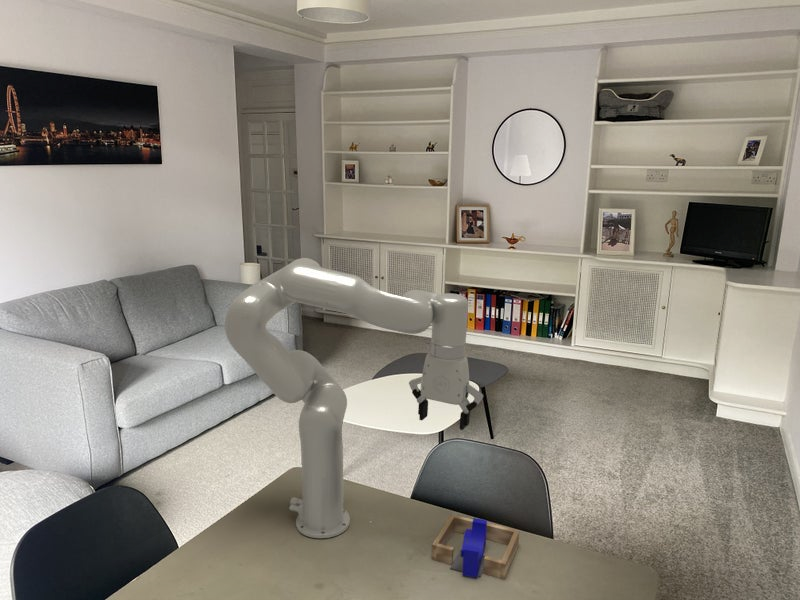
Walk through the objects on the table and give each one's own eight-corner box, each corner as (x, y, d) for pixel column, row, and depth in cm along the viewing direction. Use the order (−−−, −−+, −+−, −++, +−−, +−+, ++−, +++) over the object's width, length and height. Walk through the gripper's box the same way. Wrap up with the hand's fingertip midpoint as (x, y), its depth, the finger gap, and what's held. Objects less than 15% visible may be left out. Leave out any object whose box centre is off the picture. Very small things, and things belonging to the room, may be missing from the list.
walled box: (429, 563, 132) (429, 548, 131) (450, 527, 145) (451, 514, 144) (502, 583, 126) (503, 568, 125) (518, 544, 139) (519, 530, 138)
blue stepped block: (465, 540, 140) (466, 516, 138) (485, 544, 138) (487, 520, 137) (455, 573, 128) (456, 547, 127) (476, 577, 127) (478, 552, 126)
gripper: (404, 347, 136) (401, 420, 139) (480, 361, 129) (474, 437, 132) (418, 339, 142) (414, 409, 146) (490, 352, 135) (484, 425, 139)
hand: (443, 422), depth 139 cm, fingers open, 9 cm apart
